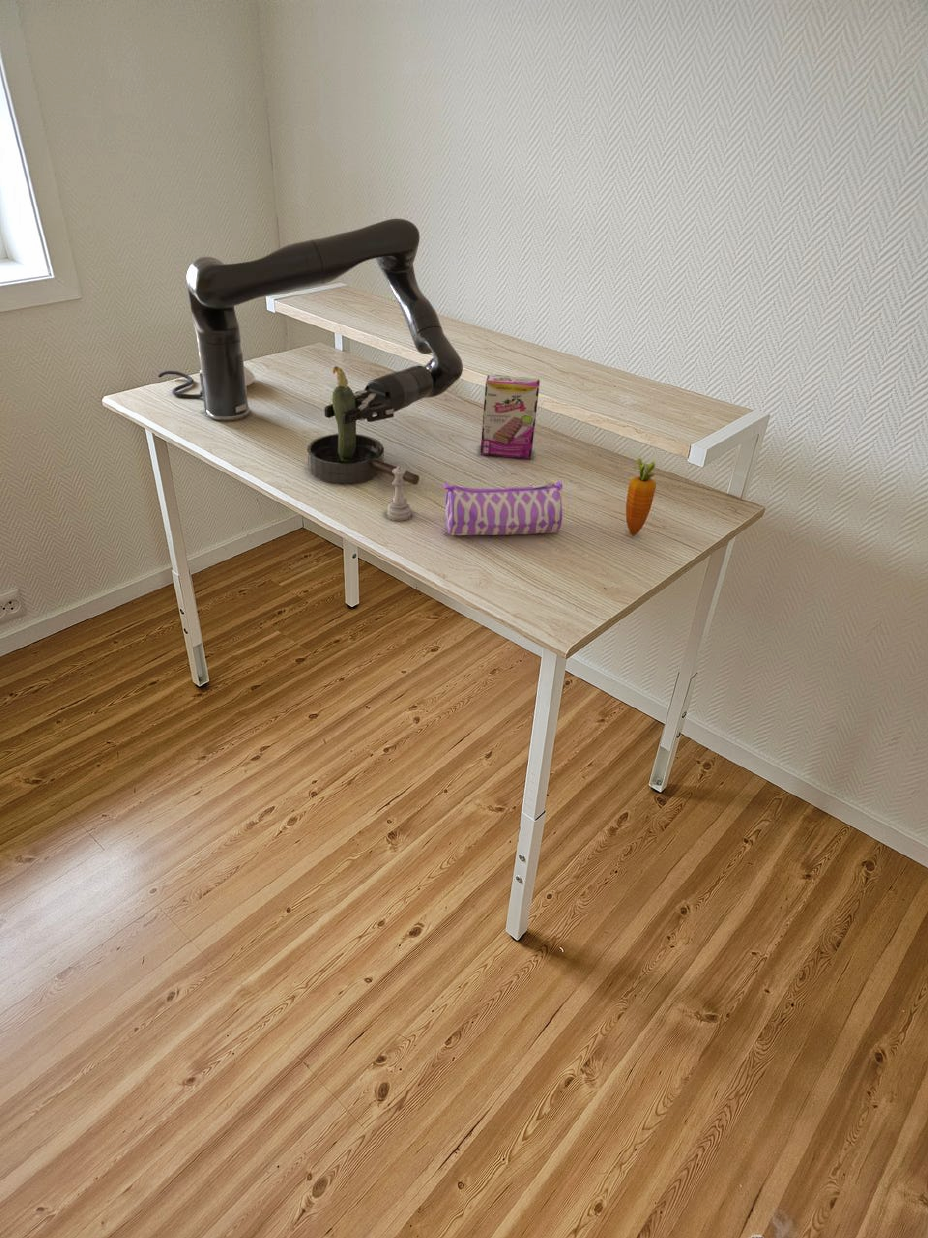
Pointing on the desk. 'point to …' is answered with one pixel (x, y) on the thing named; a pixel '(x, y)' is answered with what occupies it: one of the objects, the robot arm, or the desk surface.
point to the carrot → (640, 498)
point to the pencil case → (503, 510)
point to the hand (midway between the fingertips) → (335, 415)
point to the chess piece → (398, 498)
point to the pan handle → (389, 468)
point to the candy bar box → (509, 416)
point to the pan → (333, 470)
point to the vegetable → (341, 403)
